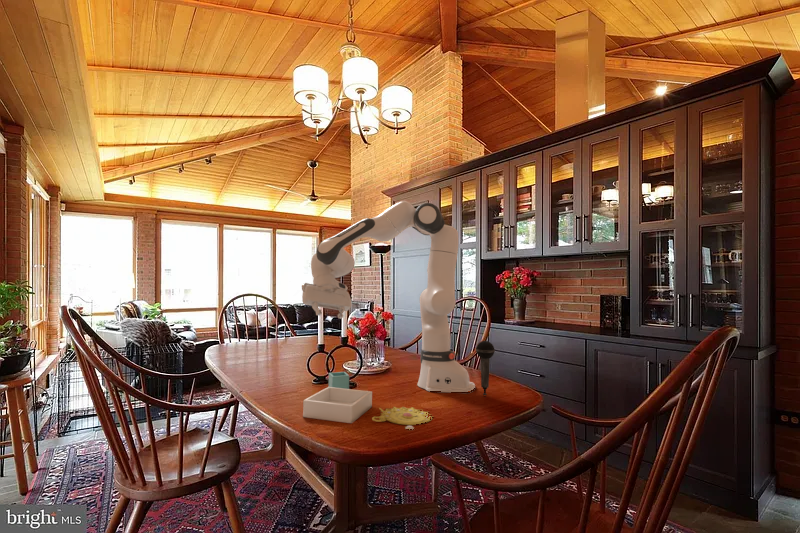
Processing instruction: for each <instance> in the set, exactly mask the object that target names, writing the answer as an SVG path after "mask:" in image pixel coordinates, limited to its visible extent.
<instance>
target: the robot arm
mask: <svg viewBox="0 0 800 533" xmlns="http://www.w3.org/2000/svg"><path fill="white" fill-rule="evenodd" d="M411 227H412V229H414V230H415V231H417V232H418V233H420V234H422V235H424V236H430V239H431V240H430V241H431V242H430V243H431V244H430V249H429V256H428V260H427V261H428V262H427V269H426V272H427V287H426V288H425V289H424V290H422V292H421V293H420V294H419V295H420V296H419V307H420V308H419V309H420V319H421V331H422V332H421V349H420V358H419V360H420V373H419V376H418V377H419V378H418V380H417V381H418V382H417V385H416V386H418V387H419V388H421V389H424V390H426V391H427V392H430V391H441V392H440V393H451V392H468V391H471V390H473V389H474V388H475V389H476V384H475V383H474V382H473V381H470V375H469V372H468V370H467V368H465V367H464V366H463V365H461V364H460V363H459V362H458V361H457V360H456V359H455V358H456V351H453V350H451V329H450V328H451V327H450V325H449V319H448V318H449V317H448V314H450V313H452V312H453V311H454V309H455V307H456V297H455V294H456V286H455V285H456V284H455V281H456V278H455V277H456V266H457V260H458V259H457V258H458V252H459V232H458V230H457V229H456V228H455V227H454V226H451V225H447V224H446V222H445V220H444V217H443V214H442V212H441V209H440V208H439V207H438V206H437V205H436V204H434V203H430V202H425V203H422V204H420V205H418V206H417V207H416V208H415V207H414V205H413V204H412V203H411V202H409V201H407V200H400V201H398V202H396V203H395V204H393V205H392V206H390V207H388V208H386V209H385V210H384V211H383V212H382V213H381V212H380V213H379V214H378V215H376V216H374V217H370V218H369V217H367V218H363V219H361V220H359V221H357V222H356V223H354V224H352V225H350V226H349V227H347V228H346V229H344V230H342V231H341V232H338V233H337V234H335V235H333V236H331V237H328V238H325V239H324V240H322V241H321V242H319V244H318V246H317V248H316V252H315V253H314V254H313V255H312V258H311V262H310V268H311V275H312V278H313V280H312V283H308V282H305V283H303V284H301V291H302V295H301V296H302V300H301V301H302V303H303V304H304V305H306V306H311V308H312V309H313V311H314V312H315V315H316V316H321V315H322V313H323V312H322V309H320V308H324V309H331V310H336V311H338V314H336V315H337V318H338V319H340V320H341V319H343V318H344V312H347V311H349V310H350V309H351V308H352V306H353V303H352V298H351V295H350V293H349V292H348V286H347V285H346V284H344V283H342V282H341V281H339V280H337V279H338V278H342V277H344V276H347V275H349V274H350V273H351V272H352V271H353V270H354V268H355V261H356V260H355V259H354V257H353V256H352V255H351V253H349V252H348V251H347V250H346V249H345V248H346V247H348V246H349V245H351V244H353V243H354V242H356V241H358V240H360V239H363V238H370V239H374V240H376V241H379V242H389V241H391V240H393V239H395V238H396V237H398V235H400V234H401V233H403V231H405V230H406V229H408V228H411ZM475 389H474V390H475Z"/></svg>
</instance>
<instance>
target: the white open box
mask: <svg viewBox="0 0 800 533" xmlns="http://www.w3.org/2000/svg"><path fill="white" fill-rule="evenodd" d="M302 404H303V405H302V407H303V409H302V410H303V412H302V418H308V419H315V420H316V419H317V420H322V421H331V422H337V423H347V424H353V423H354V422H355V421H356V420H358V419H359V418H360V417H361V416H362V415H364V414H365V413H367V412H368V410H370V409H371V408H373V391H370V390H364V389H363V390H362V389H361V390H359V389H351V388H349V389H344V388H335V387H329V386H328V387H326V388H323V389H322V390H320V391H317V392H315V393H314V394H312V395H311V396H309V397H307V398H305V399H303V403H302Z"/></svg>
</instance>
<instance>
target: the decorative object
mask: <svg viewBox="0 0 800 533" xmlns="http://www.w3.org/2000/svg"><path fill="white" fill-rule="evenodd" d="M378 409H379V410H380V416H373V417H371V420H372V421H373V422H377V423H378V422H381V423H384V422H386V421H388V422H390V423H393V424H396V425H397V424H398V425H405V426H404V429H405V430H406V429H409V430H408V431H411V430H410V429H412V430H413V429H414V428H415V427H414V426H417V425H416V424H419V425H422V424H421V423H423V424H425V422H426V423H429V422H431V421H432V420H433V418H432V417H433V416H429V417H428V414H429V415H431V414H430V413H428V412H429V411H423V410H424V409H417V408H415V407H412V406H411V407H405V406H402V407H396V406H392V408H385V410H384V409H382V408H381V407H379V408H378ZM420 410H422V411H420ZM426 413H427V414H426ZM425 416H426V417H425ZM427 417H428V418H427ZM430 417H431V420H430ZM414 430H415V429H414Z"/></svg>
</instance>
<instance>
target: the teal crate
mask: <svg viewBox="0 0 800 533" xmlns="http://www.w3.org/2000/svg"><path fill="white" fill-rule="evenodd" d="M328 387H335V388H344V389H350V375H349V374H348V373H347V372H346V371H337V372H328Z"/></svg>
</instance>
